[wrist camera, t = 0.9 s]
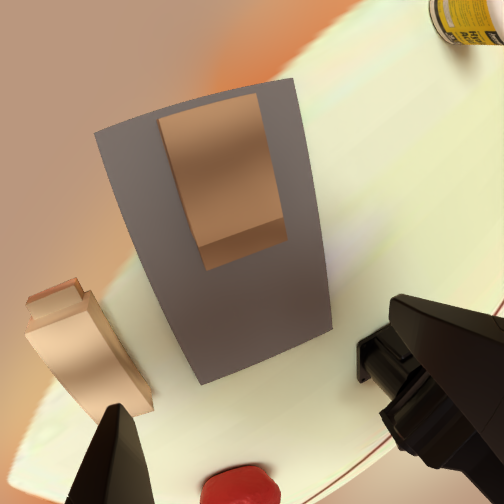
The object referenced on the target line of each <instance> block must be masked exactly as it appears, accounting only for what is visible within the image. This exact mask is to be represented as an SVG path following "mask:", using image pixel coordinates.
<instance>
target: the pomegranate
mask: <svg viewBox="0 0 504 504" xmlns="http://www.w3.org/2000/svg"><path fill="white" fill-rule="evenodd" d="M280 500H281V492H280V489H279V487H278V485H277V484H276V483H275V482H274V480H273V479H271V478H270V477H269V476H268V475H267V474H266V472H265V471H264V470H262V469H261V468H259V467H256V466H243V467H240V468H236V469H232V470H229V471H226V472H224V473H221V474H218V475H215V476H213V477H212V478H210V479H209V480H208V481H207V482H206V483H205V485H204V486H203V489H202V492H201V496H200V504H280Z"/></svg>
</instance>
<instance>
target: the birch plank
mask: <svg viewBox="0 0 504 504" xmlns="http://www.w3.org/2000/svg"><path fill="white" fill-rule="evenodd" d="M25 306H26V307H27V309H28V311H29V312H30V314H31V318H30V320H29V323H28V325H27V328H26V331H25V333H24V335H25V336H26V338H27V339H28V341H29V342H30V344H31V345H32V346H33V348H34V349H35V351H36V352H37V353H38V355H39V356H40V357H41V359H42V360H43V361H44V363H45V364H46V365H47V367H48V368H49V369H50V371H51V372H52V373H53V374H54V376H55V377H56V378H57V379H58V381H59V382H60V383H61V384H62V385H63V387H64V388H65V389H66V390H67V391H68V393H69V394H70V395H71V396H72V397H73V398H74V400H75V401H76V402H77V403H78V404H79V405H80V406H81V407H82V409H83V410H84V411H85V412H86V413H87V414H88V415H89V416H90V417H91V418H92V419H93V420H94V421H95V422H96V424H97V425H99V423H100V421H101V419H102V417H103V414H104V412H105V410H106V408H107V407H108V406H109V405H112V404H115V403H121V404H122V405H123V406H124V407H125V409H126V410H127V411H128V413H129V414H130V415H131V417H135V416H139V415H142V414H145V413H149V412H152V411H154V407H153V401H152V395H151V389H150V387H149V386H148V385H147V383H146V382H145V380H144V379H143V377H142V376H141V374H140V373H139V371H138V370H137V368H136V367H135V365H134V364H133V362H132V360H131V359H130V357H129V356H128V354H127V353H126V351H125V349H124V348H123V346H122V345H121V343H120V341H119V340H118V338H117V336H116V335H115V333H114V331H113V330H112V328H111V326H110V324H109V323H108V321H107V319H106V317H105V316H104V314H103V312H102V310H101V309H100V307H99V305H98V302H97V300H96V299H95V297H94V295H93V293H92V291H91V290H89V291H86V292H84V291H83V289H82V287H81V285H80V283H79V281H78V279H77V278H76V277H75V278H73V279H70V280H68V281H65V282H63V283H60V284H58V285H56V286H53V287H51V288H49V289H46V290H44V291H41V292H39V293H37V294H34V295H32V296H29V298H28V300H27V302H26V305H25Z"/></svg>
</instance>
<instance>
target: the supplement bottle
mask: <svg viewBox="0 0 504 504" xmlns="http://www.w3.org/2000/svg"><path fill="white" fill-rule="evenodd" d="M430 13H431V17H432V20H433V23H434V25H435V27H436V29H437V31H438V32H439V34H440V35H441V36H442V37H443V38H444V39H445V40H446V41H447V42H449V43H451V44H455V45H504V0H431V1H430Z"/></svg>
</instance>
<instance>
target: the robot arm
mask: <svg viewBox="0 0 504 504" xmlns="http://www.w3.org/2000/svg"><path fill="white" fill-rule="evenodd" d="M389 321H390V323H391V324H390V325H389V326H387V327H385V328H384V329H382V330H380V331H378V332H376V333H375V334H373V335H371V336H369V337H368V338H366V339H364V340H362V341H361V342H359V344H358V381H359V383H363V382H365V381H367V380H368V379H370V378H372V379H373V380H374V381H375V382H376V383H377V385H378V386H379V387H380V388H381V389H382V390H383V391H384V392H385V393H386V395H387V396H388V397H389V398H390V399H391V400H392V401H391V402H390V403H389V405H388V406H387V407H386V408H385V409H382V410H381V411H380V412H379V414H380V416H381V417H382V421H383V422H384V424H385V426H386V427H387V429H388V430H389V432H390V434H391V435H392V437H393V438H394V440H395V442H396V444H397V447H398V449H399V450H400V451H407V452H408V453H409V454H411V455H413V456H419V457H420V458H421V459H422V460H423V462H424V463H425V464H426V465H427V466H428V467H431V468H434V469H440V468H445V469H450V470H456V471H461V472H462V473H464V475H466V477H467V478H468V479H469V480H470V481H471V482H472V483H473V484H474V485H475V486H476V487H477V488H478V489H479V490H480V491H481V492H482V493H483V494H484V496H485V497H486V498H488V500H489V501H490V502H491V503H492V504H504V318H502V317H497V316H493V315H492V316H491V315H489V314H485V313H480V312H476V311H472V310H468V309H463V308H459V307H455V306H451V305H447V304H442V303H438V302H434V301H430V300H426V299H422V298H417V297H413V296H409V295H405V294H398V295H396V296H394V297H392V298H391V300H390V306H389ZM68 496H69V497H67V499H66V501H65V504H155V503H154V498H153V493H152V489H151V484H150V478H149V473H148V468H147V464H146V461H145V457H144V454H143V450H142V447H141V443H140V440H139V436H138V432H137V429H136V425H135V422H134V420H133V418H132V417H131V415H130V414H129V413H128V411H127V410H126V409H125V407H124V406H123V405H122V404H121V403H115V404H112V405H109V406H108V407H107V408H106V410H105V412H104V414H103V417H102V419H101V421H100V423H99V425H98V427H97V430H96V432H95V434H94V436H93V438H92V441H91V443H90V445H89V447H88V449H87V452H86V454H85V456H84V459H83V461H82V463H81V465H80V468H79V470H78V472H77V475H76V477H75V480H74V482H73V484H72V487H71V489H70V492H69V494H68Z"/></svg>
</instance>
